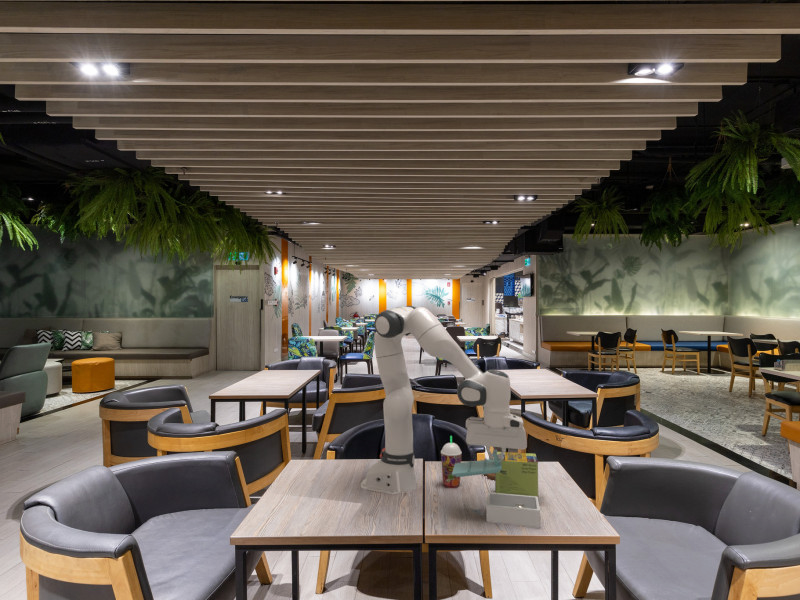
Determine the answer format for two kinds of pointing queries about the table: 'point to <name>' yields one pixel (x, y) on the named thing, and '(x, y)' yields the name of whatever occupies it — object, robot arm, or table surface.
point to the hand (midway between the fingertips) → (495, 459)
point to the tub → (513, 509)
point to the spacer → (520, 505)
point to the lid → (478, 467)
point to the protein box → (517, 474)
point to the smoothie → (450, 463)
